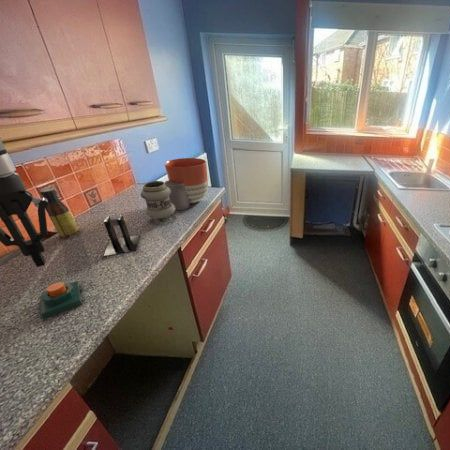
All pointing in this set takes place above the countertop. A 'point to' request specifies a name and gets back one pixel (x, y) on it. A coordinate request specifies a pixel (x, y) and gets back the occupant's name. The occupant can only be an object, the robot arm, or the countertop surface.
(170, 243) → the countertop surface
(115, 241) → the bracket
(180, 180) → the planter
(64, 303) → the button housing
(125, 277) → the countertop surface
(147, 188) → the apothecary jar
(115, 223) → the lever
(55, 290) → the button
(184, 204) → the pillar candle
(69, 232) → the sauce bottle
